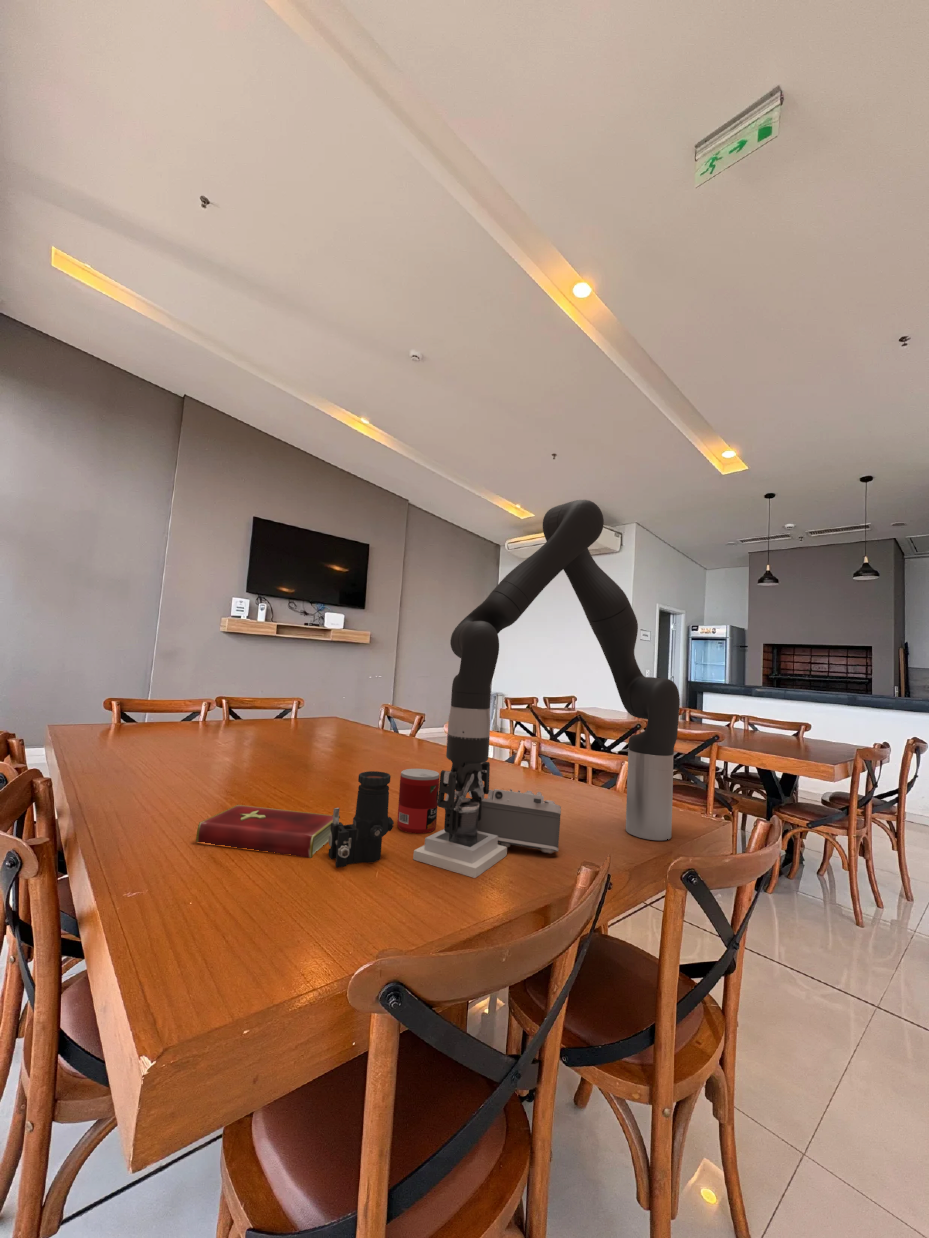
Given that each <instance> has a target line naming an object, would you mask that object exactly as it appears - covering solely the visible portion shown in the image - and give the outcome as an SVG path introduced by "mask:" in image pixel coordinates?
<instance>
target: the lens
mask: <svg viewBox="0 0 929 1238" xmlns="http://www.w3.org/2000/svg"><path fill="white" fill-rule="evenodd" d="M455 800H456V798H454V803H455ZM458 811H459V813H458V830H457V832H456V833H454V834H452V833H449V842H453V843H456V844H460V845H464V846H467V847H471V846H473V845H475V844H477V833H478V814H479V801H477V800H475V799H472V798H471V797H465V799H463V800H462V801H461V804H460V806H459V809H458Z"/></svg>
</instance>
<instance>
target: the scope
mask: <svg viewBox="0 0 929 1238" xmlns="http://www.w3.org/2000/svg"><path fill="white" fill-rule="evenodd" d="M391 776H392V775H390V773H388V772H384V771H377V770H376V771H375V770H373V771H370V770H369V771H363V772H360V773H359V774H358V782H359V785H358V787H357V788H358V790H357V798H356V805H355V815H354V817H353V818H352V823H351V824H350V823H349V824H343V823H342V822H340V818H339V816H340V809H341V808H340V807H334V808H333V812H332V813H333V814H332V815H333V823H331V833H332V834H330V835H329V841H328V845H329V848H328V853H327V854H328V857H329V859H330V860H334V859H335V863H334V865H335V867H336V868H343V867H345V868H346V867H347V866H348V865H352V864H361V863H362V864H364V863H366V864H371V863H377V862H379V861H380V860H381V856H382V844H383V843H382V842H383V837H384V836H386V835H387V833H388V832H391V831H392V830H393V828H394V820H393V818H391V817H390V816H389V799H390V798H389V797H390V792H389V791H390V787H389V784H390V783H391V778H392V777H391Z"/></svg>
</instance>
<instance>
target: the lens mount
mask: <svg viewBox="0 0 929 1238" xmlns="http://www.w3.org/2000/svg"><path fill="white" fill-rule="evenodd" d="M507 853H508V847H505V846H501V845H500V844H499V843H498V836H497V835H493V834H489V833H485V832H481V831H478V833H477V844H475V845H473V846H471V847H467V846H464V845H460V844H456V843H453V842H449V833H448V832H445V830H444V828H443V829H441V830H439V831H437V832H435V833H433V834H431V835H429V836H426V837H425V838H424V844H423V845H421V846H420V847H418V848H416V849H414V850H413V856H412V857H413V858H412V860H413V861H417V862H421V863H424V864H426V865H430V866H434V867H437V868H439V869H444V870H447V871H450V872H454V873H458V874H460V875H462V876H465V877H471V878H473V879H476V878H477V877H479V876H481V875H482V874H483V873H485V872H486V871H488V870H489V869H490V868H491V867H493V866H494V865H495V864H497V863H498V862H500V861H501V860H502V859H504V858H505V857H507Z"/></svg>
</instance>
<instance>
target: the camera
mask: <svg viewBox="0 0 929 1238" xmlns="http://www.w3.org/2000/svg"><path fill="white" fill-rule="evenodd" d="M544 798H545V796H544V795H543V794H542V792H541V791H537V792H536V794H535V793H534V792H533V791H532V790H526V791H525V792H521V790H517V791H513V789H512V788H510V789H509V790H504V789H498V788H497V789H496V788H494V789H489V793H488V794H487V798H485V797H484V799H483V800H482V807H481V820H480V821H478V831H481V832H485V833H489V834H493V835H497V836H498V844H499V845H501V846H505V847H507V848H510V847H511V845H512V846H514V847H515V846H516V847H521V848H526V849H527V848H528V849H534V850H540V852H542V853H543V854H549V855H550V854H551V855H552V854H553V853H554V852H555V853H557V852H559V845H560V832H561V831H560V829H561V815H562V809H561V808H562V806H561V805H558V804H556V802H555V800H554V801H553V800H550V799H547V800H545V799H544Z"/></svg>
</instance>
